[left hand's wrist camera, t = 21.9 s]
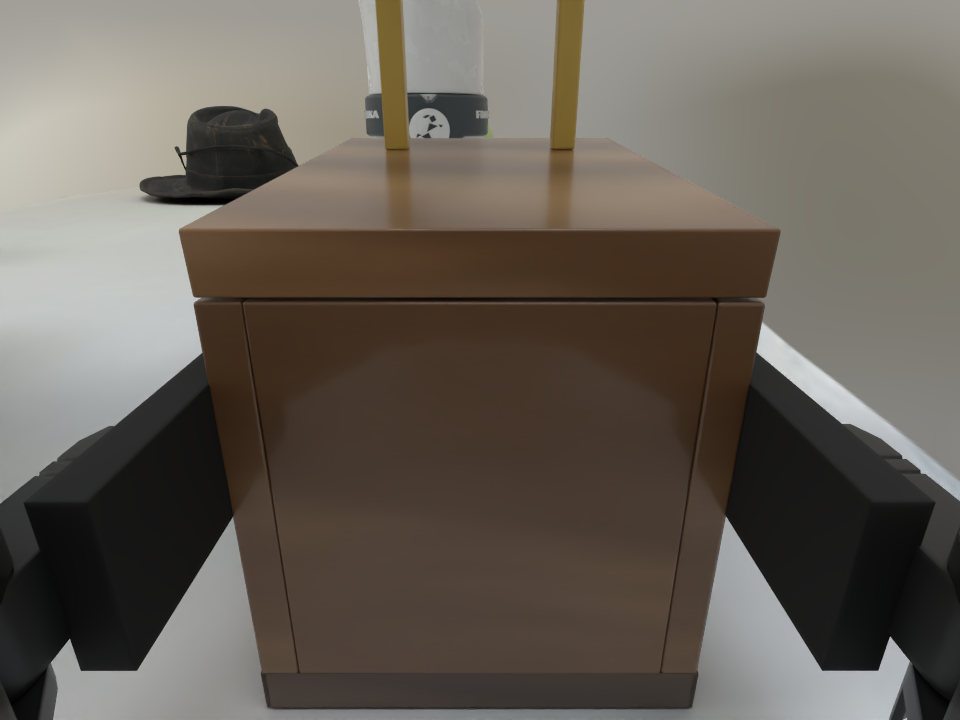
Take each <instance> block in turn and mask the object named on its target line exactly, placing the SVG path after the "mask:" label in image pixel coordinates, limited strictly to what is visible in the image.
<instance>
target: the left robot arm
mask: <svg viewBox="0 0 960 720" xmlns="http://www.w3.org/2000/svg"><path fill="white" fill-rule="evenodd" d="M232 517H233V511H232V506H231V500H230V495H229V489H228V484H227V479H226V473H225V468H224V463H223V457H222V452H221V446H220V441H219V436H218V430H217V425H216V420H215V414H214V409H213V404H212V398H211V393H210V387H209V384H208V379H207V374H206V368H205V363H204V357H203V353H202V354H201V355H199V356H198V357H197V358H196V359H195V360H193V361H192V362H191V363H190V364H189V365H187V366H186V367H185V368H184V369H183V370H181V371H180V372H179V373H178V374H177V375H175V376H174V377H173V378H172V379H171V380H169V381H168V382H167V383H166V384H165V385H163V386H162V387H161V388H160V389H159V390H157V391H156V392H155V393H154V394H153V395H151V396H150V397H149V398H148V399H147V400H145V401H144V402H143V403H142V404H141V405H140V406H138V407H137V408H136V409H135V410H134V411H132V412H131V413H130V414H129V415H128V416H126V417H125V418H124V419H123V420H122V421H120V422H119V423H118V424H117V425H116V426H109V427H107V428H105V429H103V430H101V431H99V432H96V433H94V434H92V435H90V436H88V437H86V438H84V439H82V440H80V441H78V442H77V443H76V444H75V445H73V446H72V447H71V448H70V449H68V450H67V451H66V452H65V453H63V454H62V455H61V456H60V457H58V461H57V462H52V463H51V464H50V465H48V466H47V467H46V468H45V469H43V470H42V471H41V472H40V475H39V476H35V477H33V478H32V479H31V480H30V481H28V482H27V483H26V484H25V485H23V486H22V487H21V488H20V489H18V490H17V491H16V492H15V493H13V494H12V495H11V496H9V497H8V498H7V499H6V500H4V501H3V502H2V503H1V504H0V720H53V716H54V709H55V703H56V696H57V690H58V688H57V682H56V676H55V674H54V671H53V668H52V666H51V662H52V660H53V659H54V658H55V657H56V655H57V654H58V653H59V651H60V650H61V649H62V648H63V646H64V645H65V644H66V643H67V641H68V640H69V639H70V640H71V643H72V646H73V649H74V652H75V655H76V658H77V660H78V663H79V666H80V669H81V671H137V670H138V668H139V666H140V665H141V663H142V662H143V660H144V658H145V657H146V655H147V654H148V652H149V650H150V649H151V647H152V646H153V644H154V642H155V641H156V639H157V638H158V636H159V634H160V633H161V631H162V630H163V628H164V626H165V625H166V623H167V622H168V620H169V618H170V617H171V615H172V614H173V612H174V610H175V609H176V607H177V606H178V604H179V602H180V601H181V599H182V597H183V596H184V594H185V593H186V591H187V589H188V588H189V586H190V585H191V583H192V581H193V580H194V578H195V577H196V575H197V573H198V572H199V570H200V569H201V567H202V565H203V564H204V562H205V561H206V559H207V557H208V556H209V554H210V553H211V551H212V549H213V548H214V546H215V545H216V543H217V541H218V540H219V538H220V537H221V535H222V533H223V532H224V530H225V529H226V527H227V525H228V524H229V522H230V521H231V519H232ZM726 517H727V518H728V520H729V522H730V523H731V525H732V526H733V528H734V530H735V531H736V533H737V534H738V536H739V538H740V539H741V541H742V542H743V544H744V546H745V547H746V549H747V550H748V552H749V554H750V555H751V557H752V558H753V560H754V562H755V563H756V565H757V566H758V568H759V570H760V571H761V573H762V575H763V576H764V578H765V579H766V581H767V583H768V584H769V586H770V587H771V589H772V591H773V592H774V594H775V595H776V597H777V599H778V600H779V602H780V603H781V605H782V607H783V608H784V610H785V611H786V613H787V615H788V616H789V618H790V619H791V621H792V623H793V624H794V626H795V627H796V629H797V631H798V632H799V634H800V635H801V637H802V639H803V640H804V642H805V643H806V645H807V647H808V648H809V650H810V652H811V653H812V655H813V656H814V658H815V660H816V661H817V663H818V664H819V666H820V668H821V669H822V671H878V670H879V667H880V664H881V661H882V658H883V655H884V652H885V649H886V646H887V643H888V640H889V638H890V636H891V638H892V639H893V640H894V641H895V643H896V644H897V645H898V646H899V648H900V649H901V650H902V651H903V653H904V654H905V655H906V657H907V658H908V659H909V660H910V663H909V666H908V668H907V671H906V674H905V676H904V679H903V682H902V685H901V687H900V690H899V693H898V696H897V698H896V701H895V704H894V706H893V709H892V712H891V715H890V718H889V720H903V719H905V718H907V720H960V501H959V500H957V499H956V498H955V497H954V496H952V495H951V494H950V493H949V492H947V491H946V490H945V489H944V488H942V487H941V486H940V485H939V484H937V483H936V482H935V481H933V480H932V479H931V478H930V477H928V476H927V475H926V474H921V473H920V469H918V468H917V467H916V466H915V465H913V464H912V463H911V462H909V461H908V460H907V459H902V455H901V454H899V453H898V452H897V451H896V450H894V449H893V448H892V447H891V446H889V445H888V444H887V443H885V442H884V441H883V440H882V439H880V438H878V437H876V436H874V435H872V434H870V433H868V432H866V431H864V430H862V429H860V428H858V427H855V426H853V425H851V424H841V423H840V422H839V421H838V420H837V419H835V418H834V417H833V416H832V415H831V414H829V413H828V412H827V411H826V410H825V409H823V408H822V407H821V406H820V405H819V404H817V403H816V402H815V401H814V400H813V399H811V398H810V397H809V396H808V395H807V394H805V393H804V392H803V391H802V390H801V389H799V388H798V387H797V386H796V385H795V384H793V383H792V382H791V381H790V380H789V379H787V378H786V377H785V376H784V375H783V374H781V373H780V372H779V371H778V370H777V369H775V368H774V367H773V366H772V365H771V364H769V363H768V362H767V361H766V360H765V359H764V358H762V357H761V356H760V355H759V354H758V353H756V356H755V361H754V367H753V372H752V378H751V383H750V387H749V393H748V398H747V404H746V409H745V414H744V420H743V425H742V430H741V436H740V441H739V447H738V452H737V457H736V463H735V468H734V474H733V479H732V484H731V490H730V495H729V500H728V506H727V511H726Z"/></svg>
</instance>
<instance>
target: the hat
mask: <svg viewBox="0 0 960 720" xmlns="http://www.w3.org/2000/svg"><path fill="white" fill-rule="evenodd" d="M175 150H176V152H177V153H178V155H179V157H180V159H181V162H182V164H183V166H184V163H183V160H182V156H181V155H186V157H187V164H186V167H185V166H184V168H185V170H186V175H173V176H164V177H151V178H147V179H144V180H142V181H141V182H140V190H141V191H143V192H145V193H147V194H149V195H152V196H157V197H174V198H181V197H186V198H189V197H199V198H239V197H241V196H243V195H245V194H247V193H249V192H251V191H253V190H255V189H256V188H258V187H260V186H262V185H264V184H266V183H268V182H270V181H272V180H273V179H275V178H277V177H279V176H281V175H283V174H285V173H287V172H289V171H291V170H292V169H294V168H296V167H298V164H297V163H296V160H295V157H294V155H293V153H292V150H291V149H290V148H289V147H288V145H287V144H286V142H285V140H284V137H283V135H282V133H281V130H280V128H279V126H278V119H277V116H276V115H275V114H274V112H273V111H271V110H269V109H263V110H262V111H261V113H260V114H257V113H254V112H252V111H249V110H246V109H243V108H239V107H233V106H215V107H207V108H203V109H200V110H197V111H196V112H194V113H193V114H192V115H191V116H190V118H189V120H188V124H187V143H186V152H182V153H180V150H179V148H178V147H175Z"/></svg>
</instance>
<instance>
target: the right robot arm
mask: <svg viewBox="0 0 960 720" xmlns="http://www.w3.org/2000/svg"><path fill="white" fill-rule="evenodd" d="M358 2H359V6H360V11H361V17H362V25H363V32H364V40H365V49H366V60H367V71H368V84H369V95H370V96H367V97H366V98H365V118H366V129H367V134H368V135H369V136H370V138H384V126H383V111H382V95H381V80H380V65H379V50H378V35H377V20H376V5H375V0H358ZM403 15H404V36H405V56H406V77H407V97H408V118H409V138H485V136H484V135H487V133H488V118H489V111H488V104H487V98H486V97H485V96H483V15H482V11H481V8H480V5H479V3H478V1H477V0H403Z"/></svg>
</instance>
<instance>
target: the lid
mask: <svg viewBox="0 0 960 720" xmlns="http://www.w3.org/2000/svg"><path fill="white" fill-rule="evenodd" d="M375 5H376V20H377V35H378V50H379V65H380V80H381V95H382V111H383V126H384V138H351V139H349V140H348V141H346V142H344V143H342V144H340V145H338V146H336V147H334V148H332V149H330V150H328V151H327V152H325V153H323V154H321V155H319V156H317V157H315V158H313V159H311V160H309V161H308V162H306V163H304V164H302V165H300V166H298V167H296V168H294V169H292V170H291V171H289V172H287V173H285V174H283V175H281V176H279V177H277V178H275V179H273V180H272V181H270V182H268V183H266V184H264V185H262V186H260V187H258V188H256V189H255V190H253V191H251V192H249V193H247V194H245V195H243V196H241V197H239V198H237V199H236V200H234V201H232V202H230V203H228V204H226V205H224V206H222V207H220V208H218V209H217V210H215V211H213V212H211V213H209V214H207V215H205V216H203V217H201V218H200V219H198V220H196V221H194V222H192V223H190V224H188V225H186V226H184V227H182V228H181V229H179V235H180V239H181V244H182V248H183V253H184V257H185V262H186V266H187V270H188V275H189V279H190V284H191V288H192V293H193V296H194V297H197V298H764V297H766V295H767V290H768V286H769V281H770V277H771V272H772V268H773V263H774V259H775V254H776V250H777V246H778V241H779V237H780V229H778V228H776V227H775V226H773V225H771V224H769V223H767V222H765V221H763V220H761V219H759V218H758V217H756V216H754V215H752V214H750V213H748V212H746V211H744V210H742V209H741V208H739V207H737V206H735V205H733V204H731V203H729V202H727V201H725V200H724V199H722V198H720V197H718V196H716V195H714V194H712V193H710V192H708V191H706V190H705V189H703V188H701V187H699V186H697V185H695V184H693V183H691V182H690V181H688V180H686V179H684V178H682V177H680V176H678V175H676V174H674V173H673V172H671V171H669V170H667V169H665V168H663V167H661V166H659V165H657V164H656V163H654V162H652V161H650V160H648V159H646V158H644V157H642V156H640V155H639V154H637V153H635V152H633V151H631V150H629V149H627V148H625V147H623V146H621V145H620V144H618V143H616V142H614V141H612V140H610V139H608V138H575V134H576V119H577V104H578V89H579V74H580V59H581V44H582V29H583V15H584V0H557V12H556V33H555V54H554V73H553V94H552V114H551V134H550V138H409V118H408V97H407V77H406V56H405V36H404V15H403V0H375Z"/></svg>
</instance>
